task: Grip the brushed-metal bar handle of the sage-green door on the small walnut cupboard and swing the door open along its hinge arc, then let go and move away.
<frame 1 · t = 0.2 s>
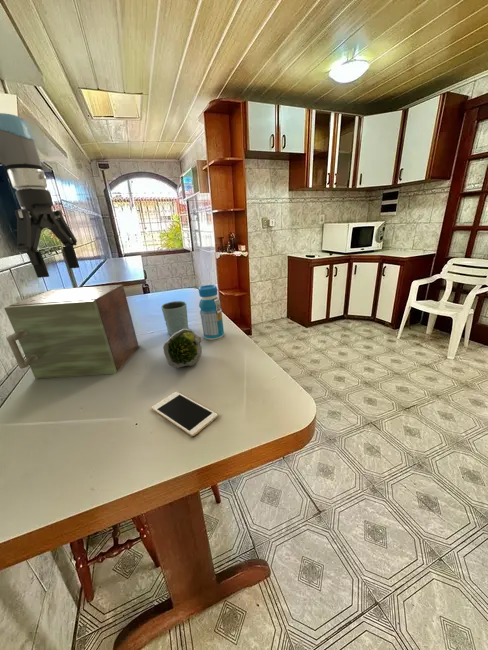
hand: (60, 272, 77), 32 cm above the table, tool pointing down, fingers open, 13 cm apart
beverage bottle: (214, 336, 106), on the table
cell phone: (183, 413, 65), on the table
potted plant: (188, 364, 87), on the table
grey green cup: (178, 331, 114), on the table
cupboard door: (57, 345, 79), point 12 cm above the table, hinge at 0.0°
cupboard: (93, 359, 95), on the table
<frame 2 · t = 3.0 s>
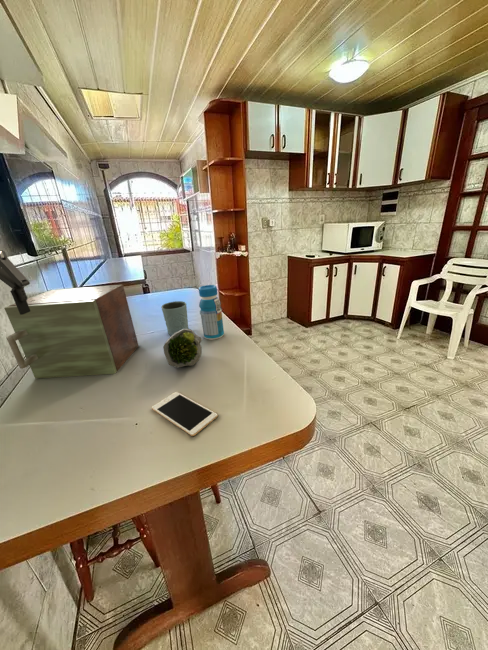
hand: (1, 314, 72), 24 cm above the table, tool pointing down, fingers open, 13 cm apart
nothing on the table moved.
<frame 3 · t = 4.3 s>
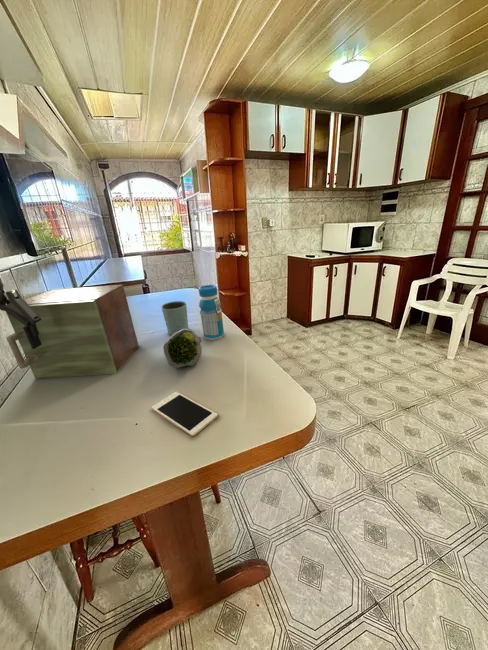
hand: (14, 348, 76), 14 cm above the table, tool pointing down, fingers open, 13 cm apart
nothing on the table moved.
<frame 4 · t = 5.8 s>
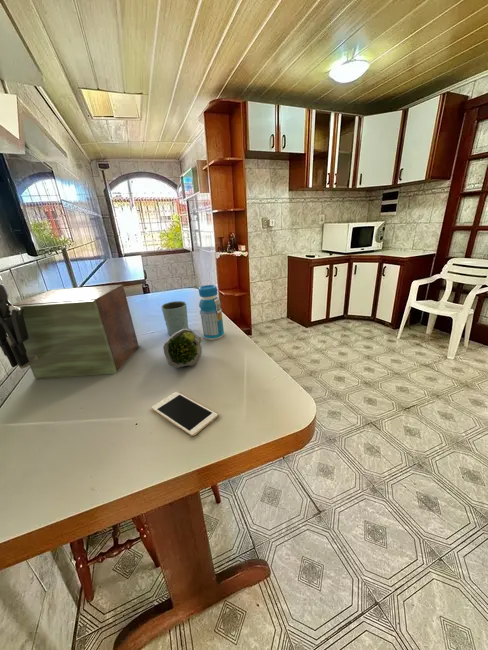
hand: (20, 364, 78), 8 cm above the table, tool pointing down, fingers closed on cupboard door, 2 cm apart
cupboard door: (57, 345, 79), point 12 cm above the table, hinge at 0.0°, touching gripper
everything else where it was.
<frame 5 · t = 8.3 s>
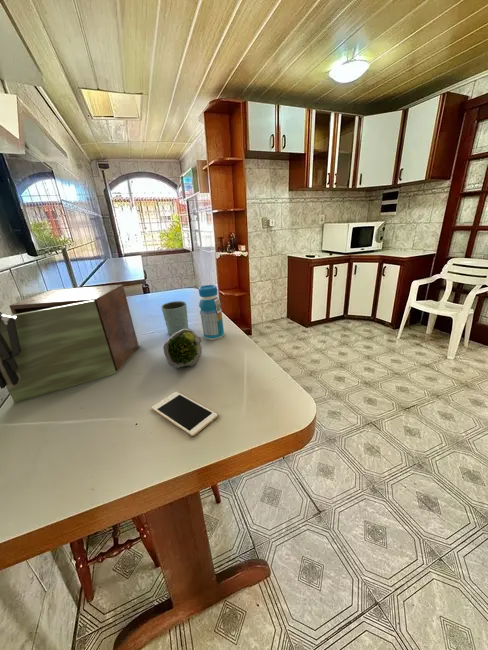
hand: (10, 383, 68), 8 cm above the table, tool pointing down, fingers closed on cupboard door, 2 cm apart
cupboard door: (53, 354, 73), point 12 cm above the table, hinge at 28.3°, touching gripper
everything else where it was.
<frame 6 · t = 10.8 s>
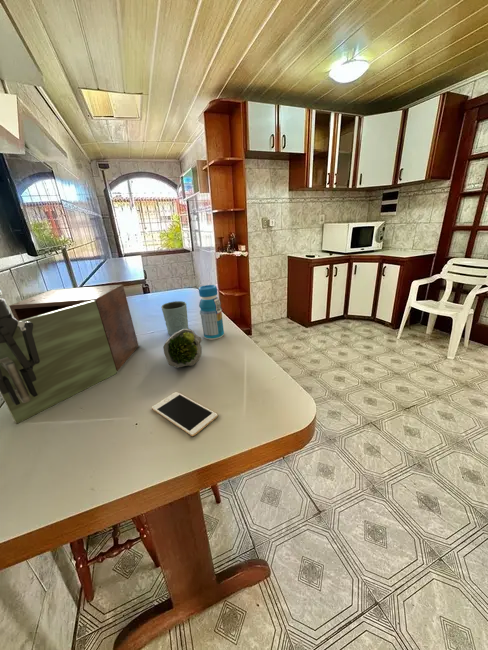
hand: (25, 398, 62), 8 cm above the table, tool pointing down, fingers open, 3 cm apart
cupboard door: (62, 359, 70), point 12 cm above the table, hinge at 54.2°
everything else where it was.
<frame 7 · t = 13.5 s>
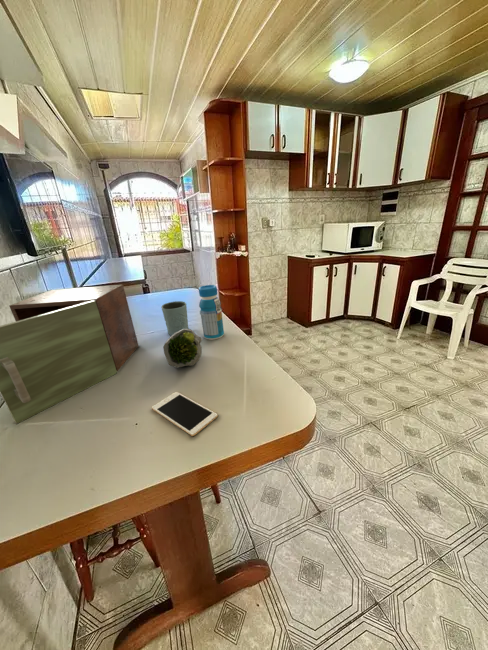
nothing on the table moved.
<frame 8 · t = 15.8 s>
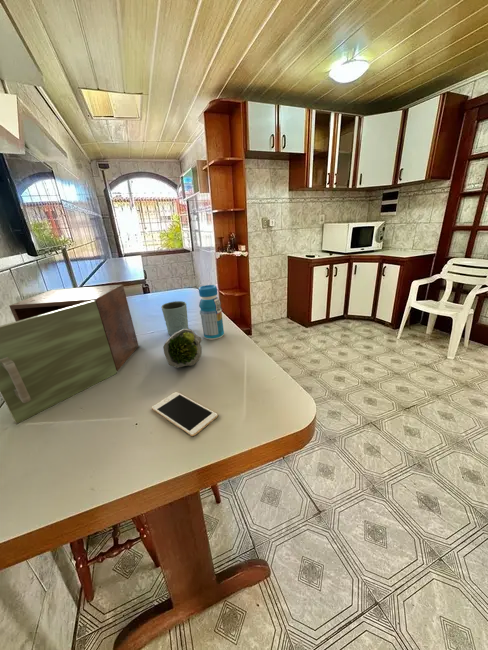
nothing on the table moved.
at the end: cupboard door at +54° (first picture: +0°); the gripper is holding nothing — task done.
